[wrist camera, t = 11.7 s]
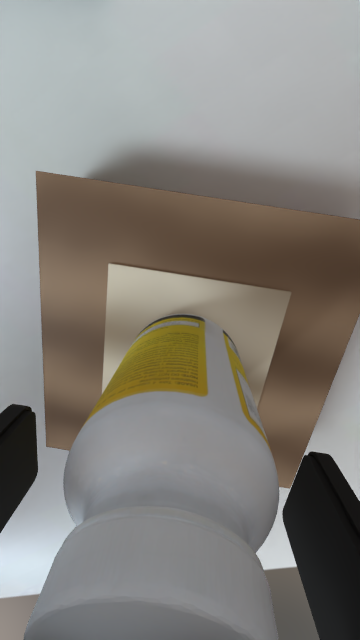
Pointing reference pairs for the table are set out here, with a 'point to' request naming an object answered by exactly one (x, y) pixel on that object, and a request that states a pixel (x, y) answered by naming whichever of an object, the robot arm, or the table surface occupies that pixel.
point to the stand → (193, 296)
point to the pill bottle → (166, 500)
